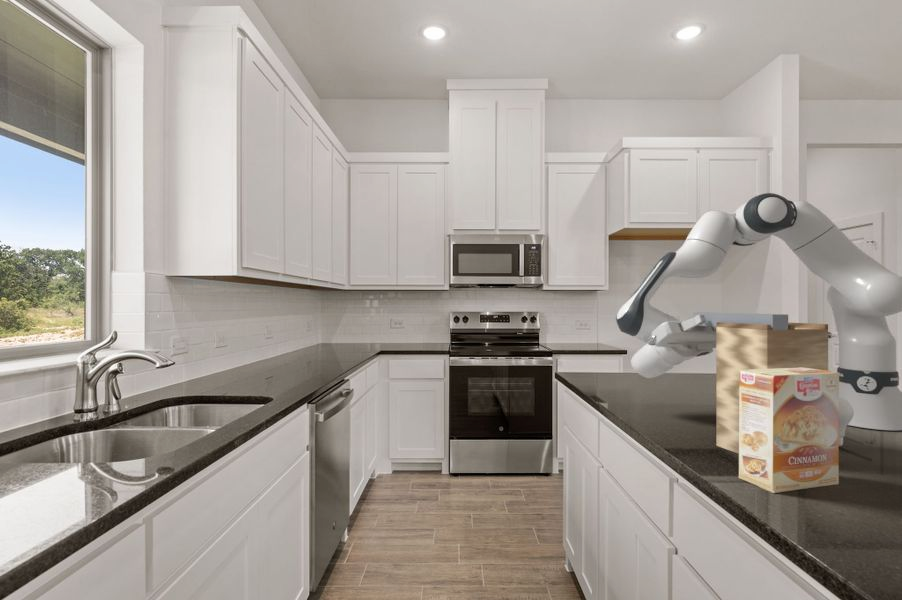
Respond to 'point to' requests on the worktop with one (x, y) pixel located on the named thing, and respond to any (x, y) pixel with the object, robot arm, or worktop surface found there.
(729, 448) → the riser block
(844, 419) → the lightbulb
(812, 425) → the coffeecake box
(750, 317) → the grey rectangular bar
